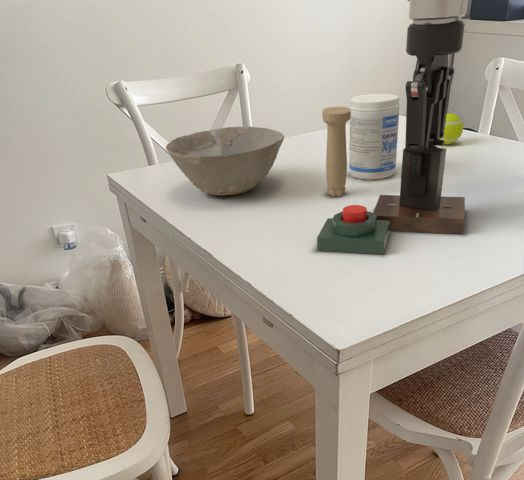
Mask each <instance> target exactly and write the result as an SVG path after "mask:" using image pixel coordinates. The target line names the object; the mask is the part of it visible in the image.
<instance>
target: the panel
mask: <svg viewBox="0 0 524 480" xmlns="http://www.w3.org/2000/svg"><path fill="white" fill-rule="evenodd" d="M465 200H466V196H442V195H441V201H440V206H439V207H438V208H437V209H436V210H435V211H434V210H427V209H420V208H413V207H405V206H399V201H400V194H398V195H397V194H379V196H378V198H377V202H376V204H375V207H374V209H373V211H372V213H373V214H375V215H376V216H377V220H386V221H390V232H402V233H423V234H425V233H426V234H446V235H463V233H464V225H465V217H466V216H465V212H466V211H465V210H466V208H465V207H466V206H465V205H466V201H465Z"/></svg>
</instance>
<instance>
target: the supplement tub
mask: <svg viewBox="0 0 524 480" xmlns="http://www.w3.org/2000/svg"><path fill="white" fill-rule="evenodd" d="M400 105H401V104H400V95H398V94H394V93H368V94H360V95H356V96H353V97H352V98H350V106H349V108H350V110H351V117H350V120H349V148H348V150H349V152H348V153H349V154H348V157H349V159H348V172H349V175H350V176H351V177H353V178H356V179H358V180H369V181H370V180H372V181H373V180H382V179H386V178H390V177H391V176H393V175H394V174H395V173H396V168H397V167H396V166H397V152H398V140H399V139H398V138H399V137H398V136H399V124H400V123H399V121H400Z"/></svg>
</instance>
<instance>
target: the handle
mask: <svg viewBox="0 0 524 480" xmlns="http://www.w3.org/2000/svg"><path fill="white" fill-rule="evenodd" d="M321 115H322V121H323V122H324V123H326V129H327V132H326V135H327V136H326V151H325V152H326V154H325V175H326V176H325V177H326V185H327V188H326V190H327V194H328V195H329V196H331V197H341V196H343V195H344V194H345V193H346V184H347V183H346V182H347V173H348V154H347V153H348V152H347V130H346V127H347V122H348V121H350V117H351V110H350V107H347V106H330V107H326V108H324V109H322V113H321Z"/></svg>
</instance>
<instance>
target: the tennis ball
mask: <svg viewBox="0 0 524 480" xmlns="http://www.w3.org/2000/svg"><path fill="white" fill-rule="evenodd" d="M463 132H464V122H463V121H462V118H461V116H459V115H457V114H455V113H452V112H451V113H450V112H449V113H448V112H447V115H446V122H445V129H444V136H443V138H440V140H444V144H443V145H451V144H453V143H455V142H457V141H458V140H459V139H460V138H461V137H462V134H463Z"/></svg>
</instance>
